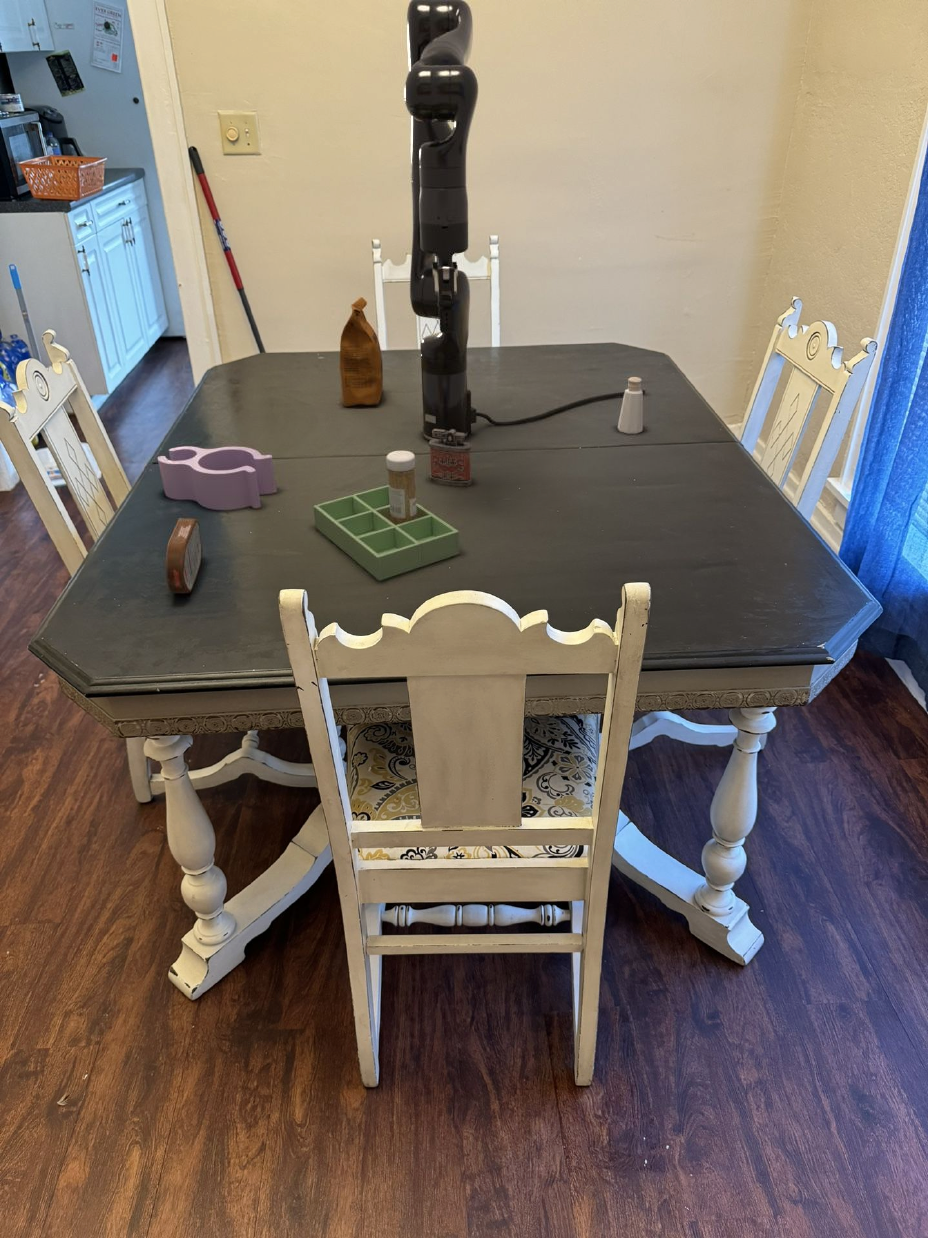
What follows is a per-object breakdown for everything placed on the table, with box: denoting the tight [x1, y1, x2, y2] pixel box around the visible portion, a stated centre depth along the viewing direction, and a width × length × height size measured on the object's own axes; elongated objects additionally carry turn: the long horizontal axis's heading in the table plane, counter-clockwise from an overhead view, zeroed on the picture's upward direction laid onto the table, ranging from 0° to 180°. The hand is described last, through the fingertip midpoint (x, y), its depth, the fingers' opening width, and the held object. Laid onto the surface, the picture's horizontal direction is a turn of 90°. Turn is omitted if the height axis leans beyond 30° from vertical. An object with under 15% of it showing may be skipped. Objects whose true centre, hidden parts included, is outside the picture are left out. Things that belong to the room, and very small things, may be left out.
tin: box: [165, 517, 203, 595], centre depth 132 cm, size 15×3×8 cm, turn 5°
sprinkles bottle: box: [385, 450, 417, 525], centre depth 142 cm, size 5×5×13 cm
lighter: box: [428, 429, 472, 487], centre depth 161 cm, size 8×3×10 cm, turn 71°
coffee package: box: [339, 297, 384, 407], centre depth 197 cm, size 10×12×22 cm
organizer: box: [312, 484, 460, 581], centre depth 143 cm, size 15×22×4 cm
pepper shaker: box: [617, 376, 644, 435], centre depth 182 cm, size 5×5×11 cm
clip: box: [157, 445, 278, 511], centre depth 158 cm, size 20×12×7 cm, turn 75°
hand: (445, 324), depth 143 cm, fingers open, 8 cm apart
